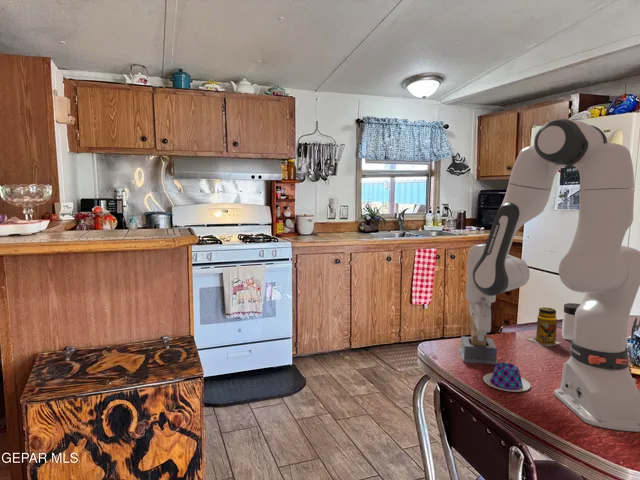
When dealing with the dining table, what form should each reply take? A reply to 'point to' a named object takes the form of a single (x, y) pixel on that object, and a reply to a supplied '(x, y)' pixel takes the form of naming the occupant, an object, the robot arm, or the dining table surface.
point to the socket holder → (478, 351)
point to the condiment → (546, 327)
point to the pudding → (506, 378)
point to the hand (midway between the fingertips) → (478, 337)
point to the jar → (569, 320)
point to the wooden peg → (474, 334)
